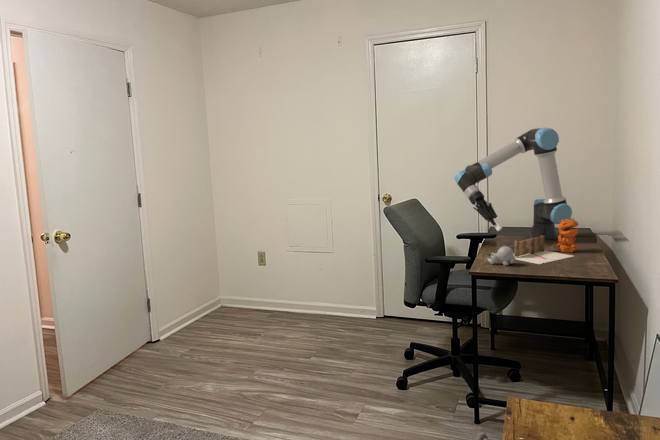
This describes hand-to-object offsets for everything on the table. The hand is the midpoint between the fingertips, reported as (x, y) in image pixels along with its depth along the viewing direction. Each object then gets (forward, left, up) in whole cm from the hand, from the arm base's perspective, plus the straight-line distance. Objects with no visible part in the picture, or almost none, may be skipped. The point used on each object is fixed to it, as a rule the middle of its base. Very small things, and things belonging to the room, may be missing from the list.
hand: (500, 229), depth 261 cm
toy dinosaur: (+20, +27, -12) cm, 36 cm away
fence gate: (+14, 0, -11) cm, 18 cm away
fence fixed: (+13, +13, -12) cm, 22 cm away
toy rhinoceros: (+19, -21, -12) cm, 31 cm away
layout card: (+18, +6, -12) cm, 23 cm away
